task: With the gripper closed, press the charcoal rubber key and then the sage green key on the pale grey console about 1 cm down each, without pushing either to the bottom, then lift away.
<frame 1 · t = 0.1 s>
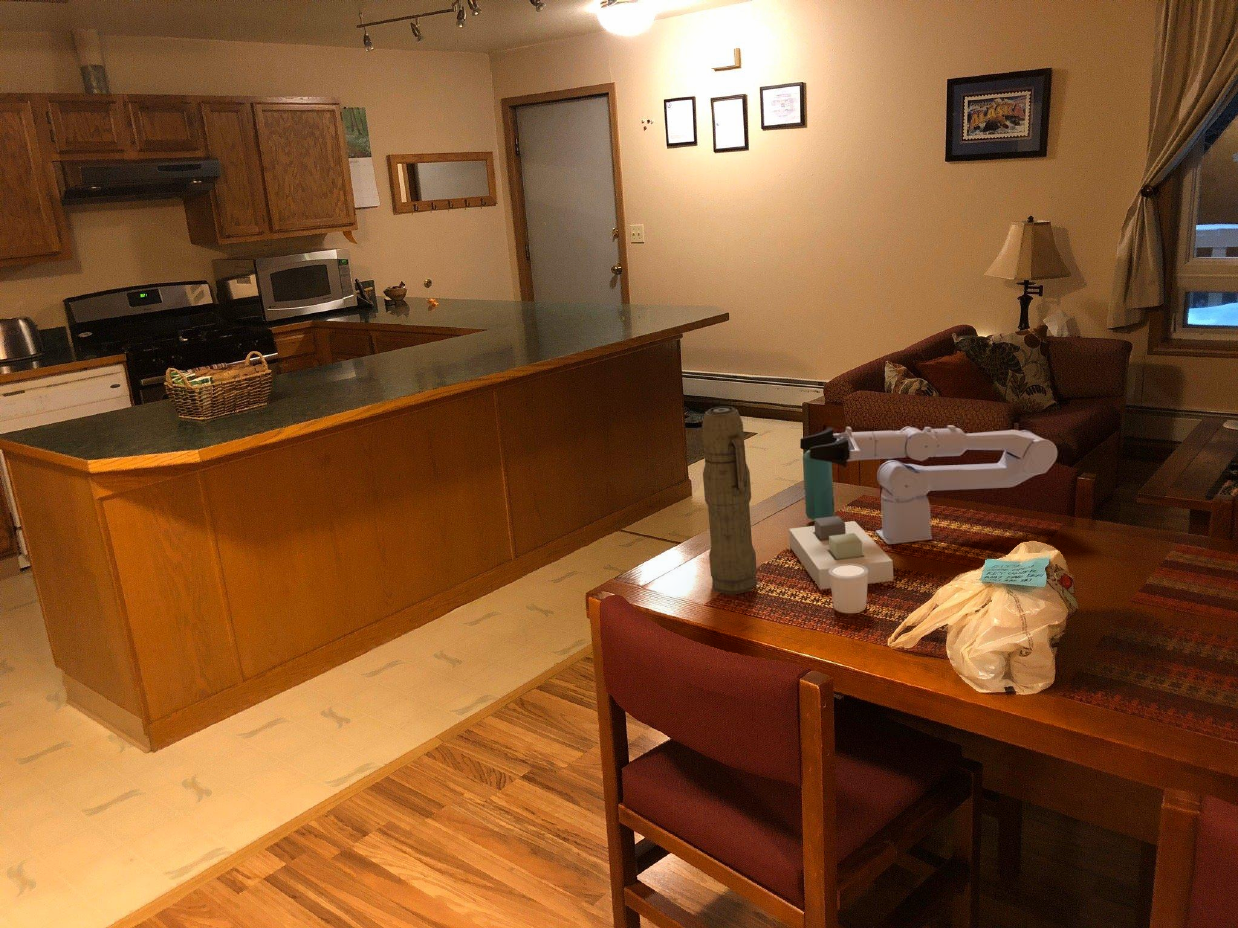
hand: (805, 448, 199), 22 cm above the table, tool horizontal, fingers open, 7 cm apart
thermos: (734, 586, 190), on the table
white cup: (849, 607, 175), on the table
beverage bottle: (820, 522, 219), on the table
sage key: (845, 545, 188), point 5 cm above the table, slide at 0.0 cm
charcoal key: (829, 527, 199), point 5 cm above the table, slide at 0.0 cm
console: (838, 562, 195), on the table
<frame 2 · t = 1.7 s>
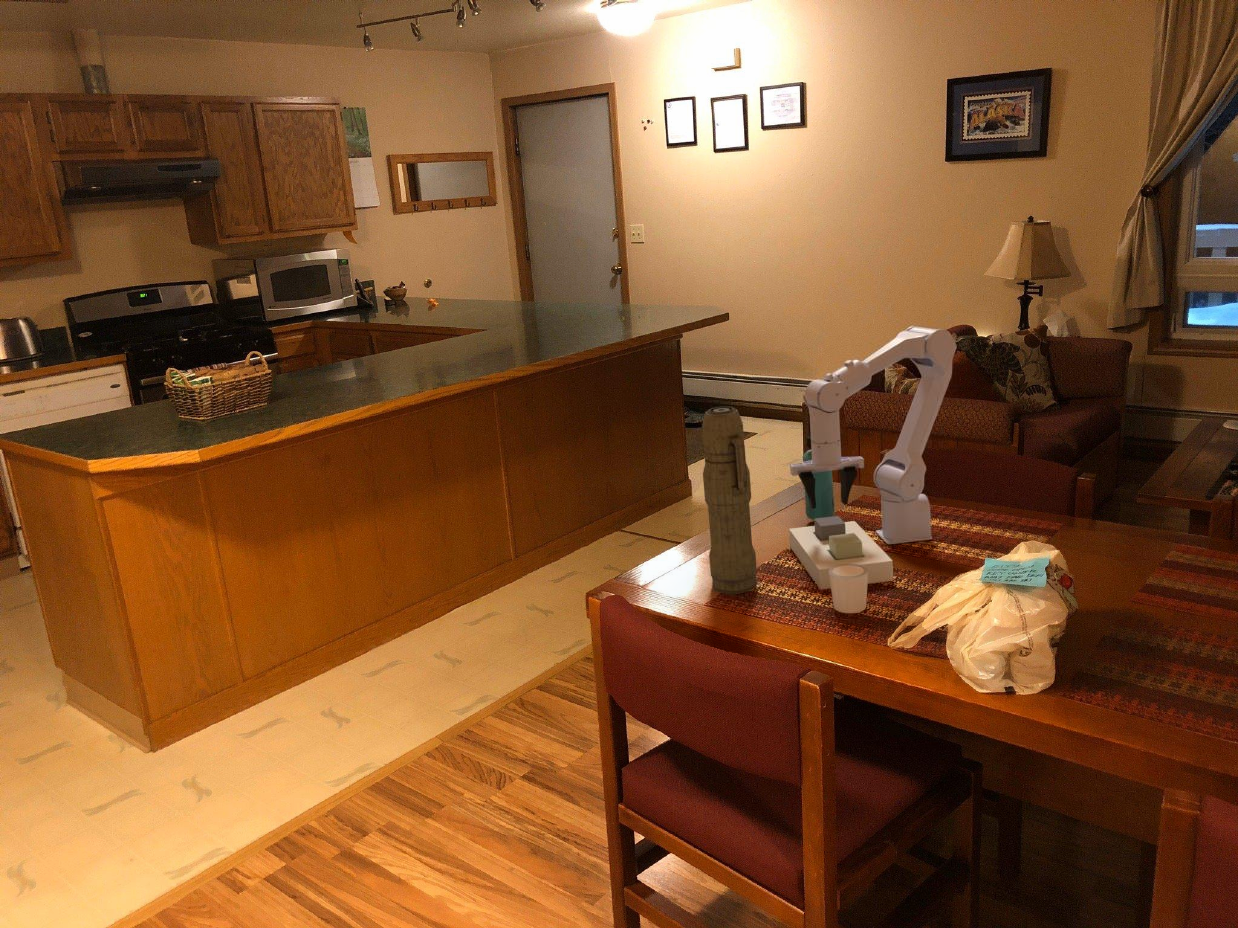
hand: (828, 505, 198), 10 cm above the table, tool pointing down, fingers open, 6 cm apart
nothing on the table moved.
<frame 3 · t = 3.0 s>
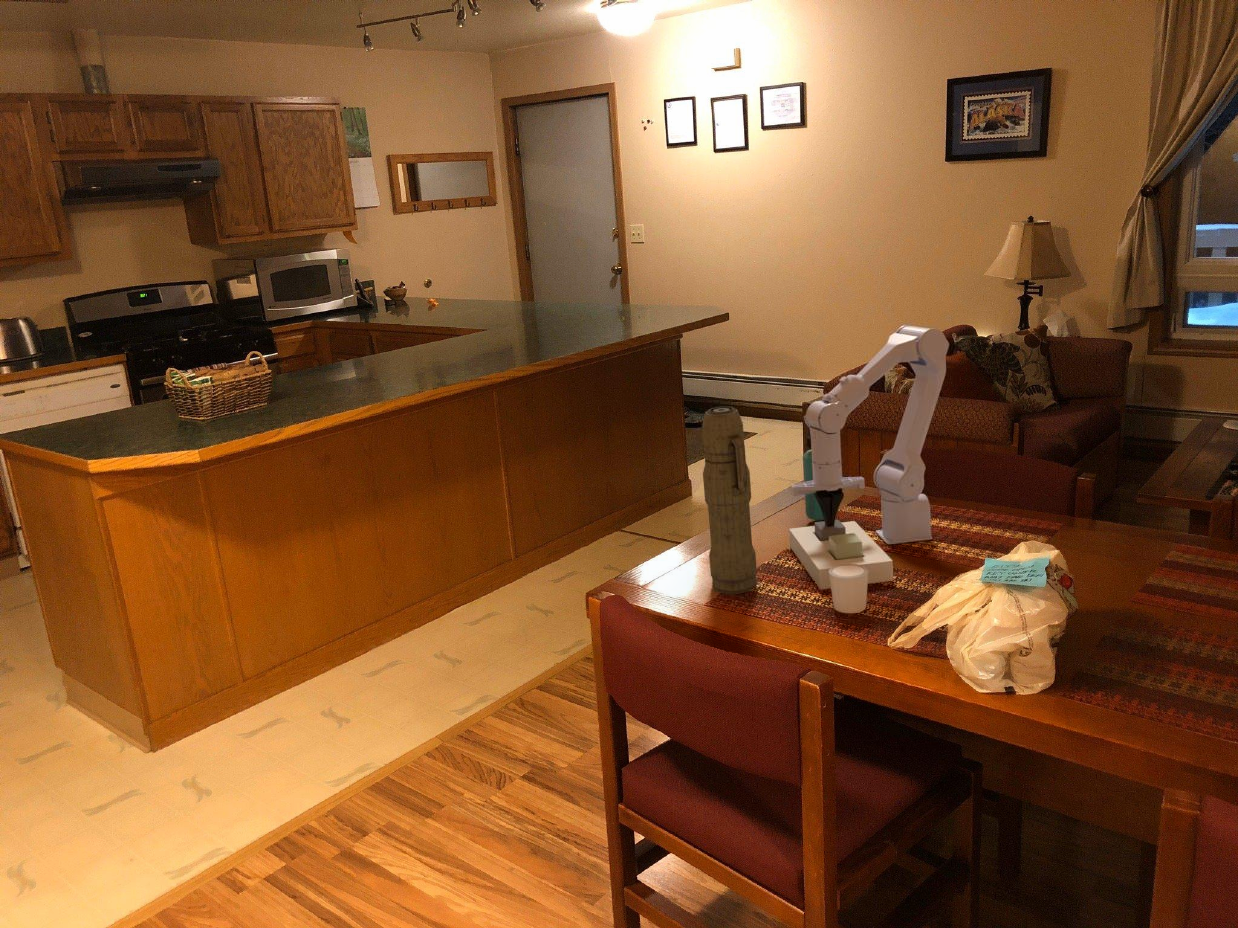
hand: (829, 525, 199), 6 cm above the table, tool pointing down, fingers closed, pressing on charcoal key
charcoal key: (830, 531, 199), point 5 cm above the table, slide at 0.8 cm, touching gripper
everything else where it was.
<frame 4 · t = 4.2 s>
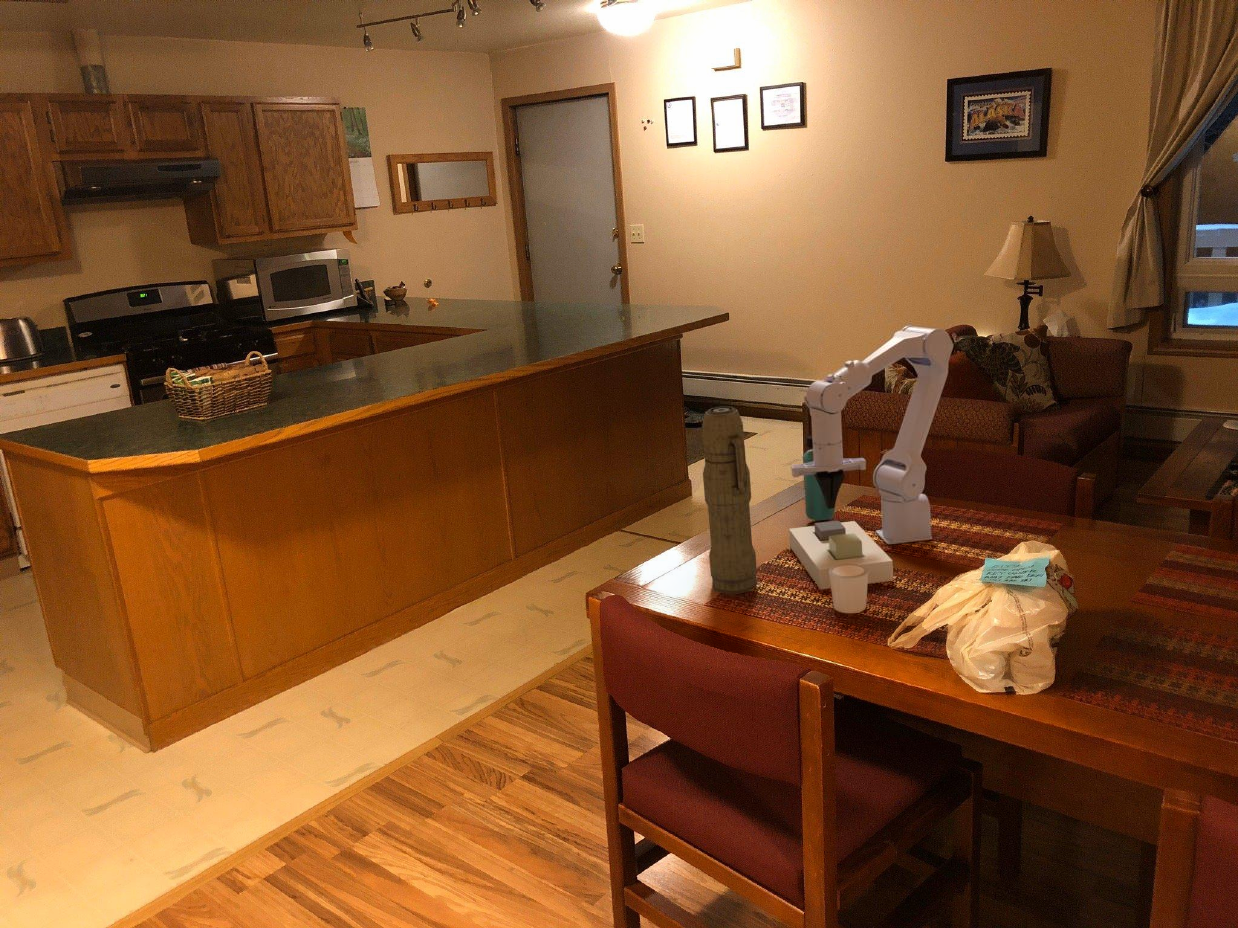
hand: (830, 507, 196), 10 cm above the table, tool pointing down, fingers closed
charcoal key: (830, 532, 199), point 4 cm above the table, slide at 1.0 cm
everything else where it was.
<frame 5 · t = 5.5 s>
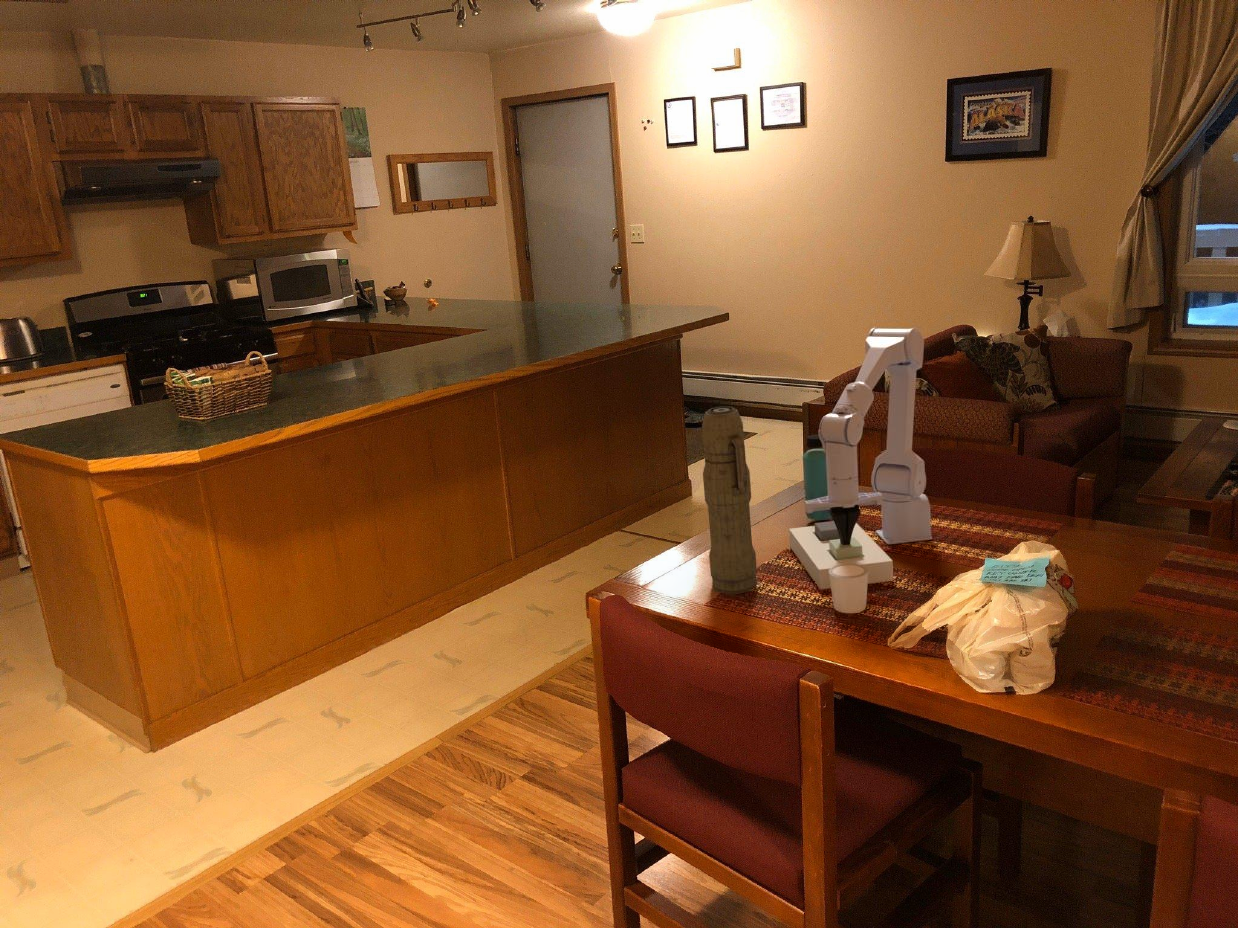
hand: (845, 543, 188), 6 cm above the table, tool pointing down, fingers closed, pressing on sage key
sage key: (845, 550, 189), point 5 cm above the table, slide at 0.9 cm, touching gripper
everything else where it was.
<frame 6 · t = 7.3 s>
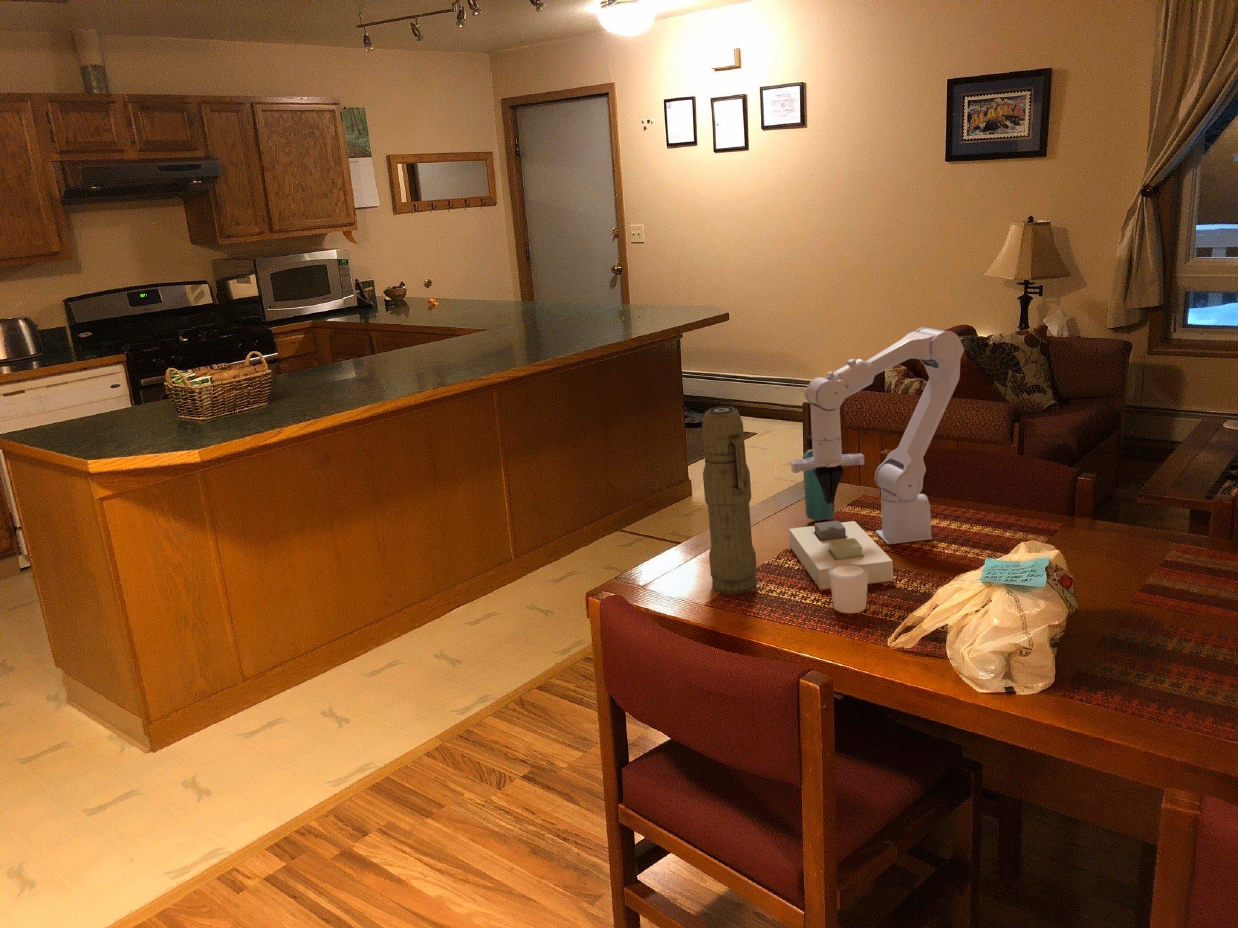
hand: (829, 501, 200), 10 cm above the table, tool pointing down, fingers closed
sage key: (845, 550, 189), point 4 cm above the table, slide at 1.0 cm
everything else where it was.
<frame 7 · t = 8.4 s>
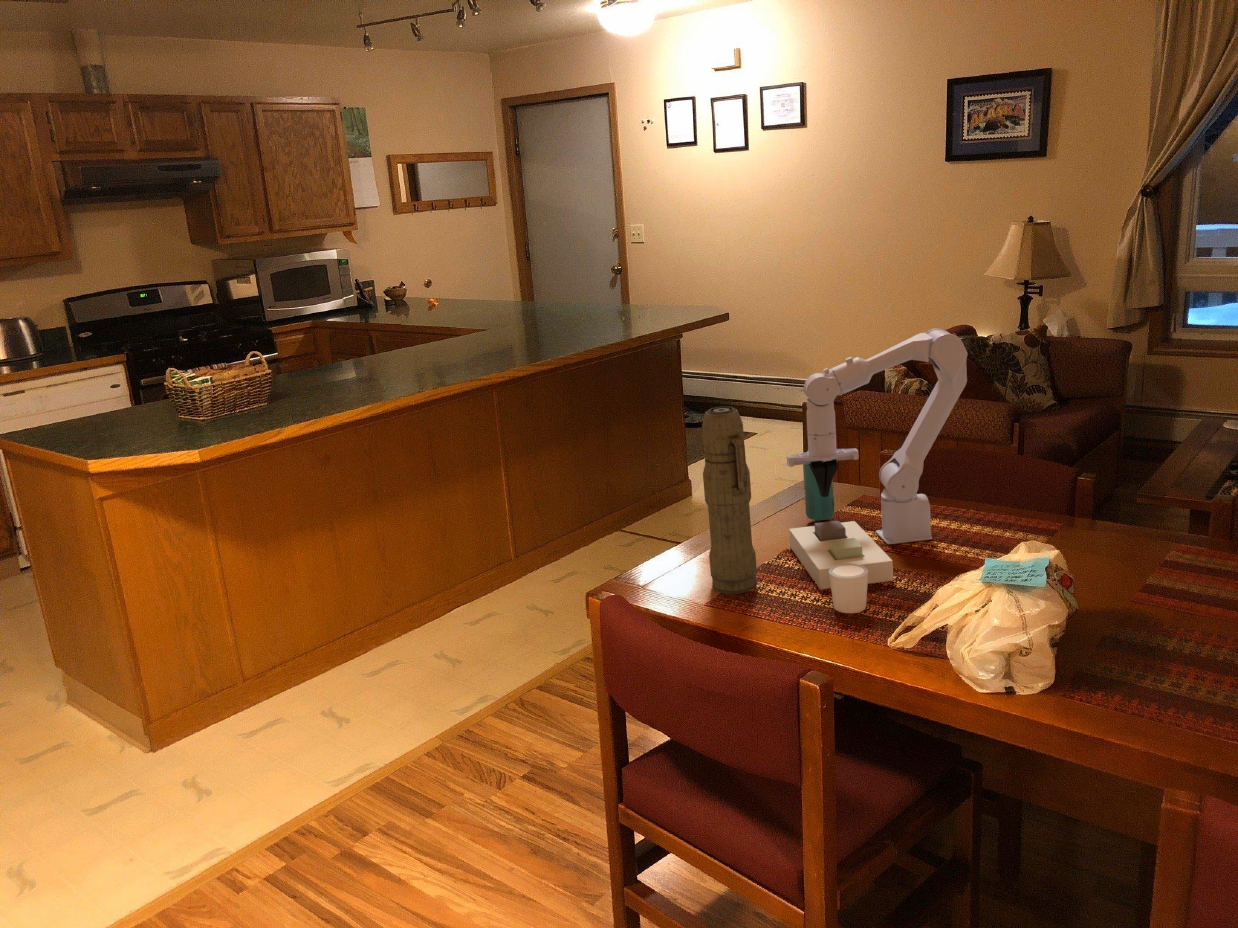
hand: (824, 495, 204), 10 cm above the table, tool pointing down, fingers closed
nothing on the table moved.
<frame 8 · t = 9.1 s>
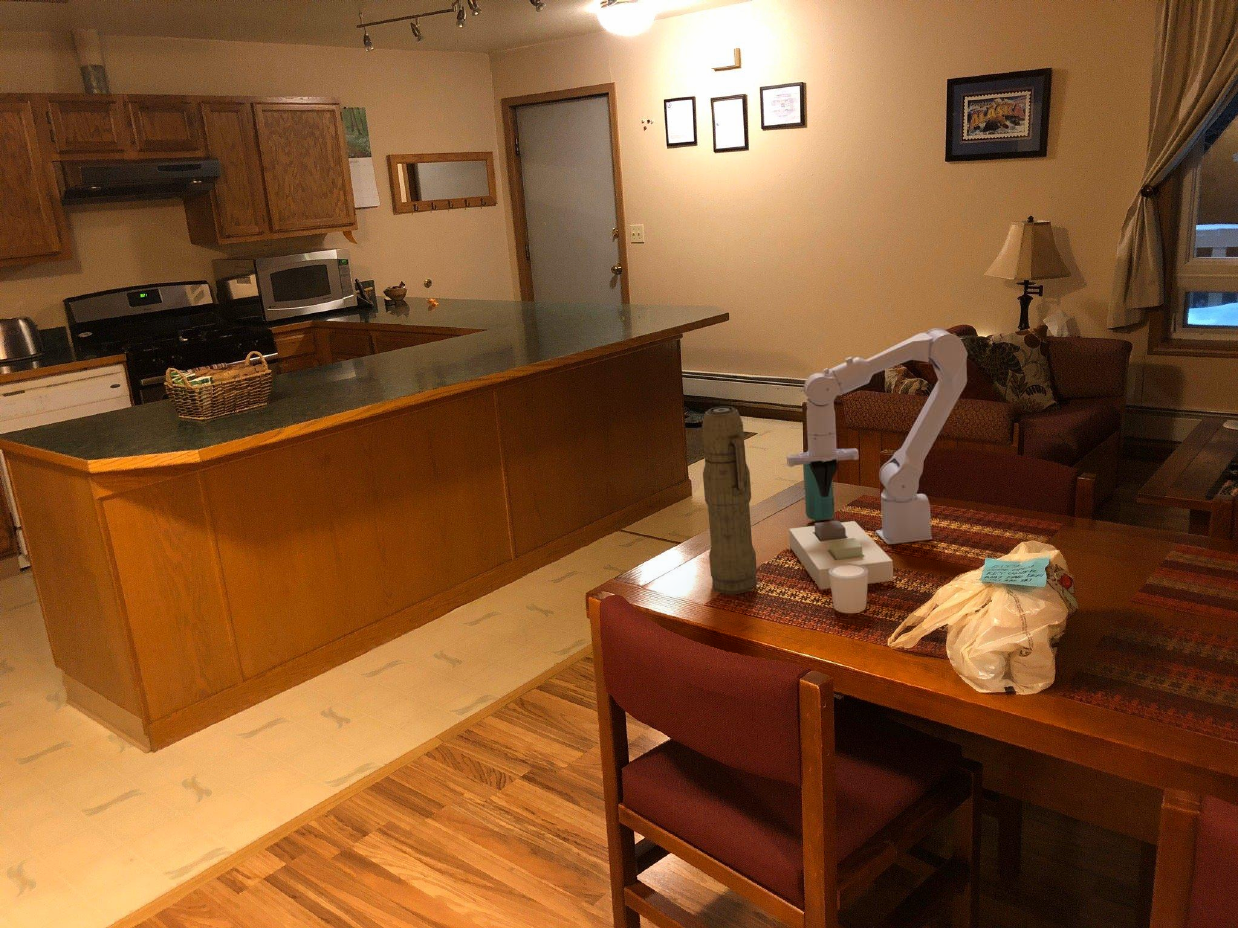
hand: (824, 495, 204), 10 cm above the table, tool pointing down, fingers closed
nothing on the table moved.
at the end: charcoal key slide at 1.0 cm; sage key slide at 1.0 cm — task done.
